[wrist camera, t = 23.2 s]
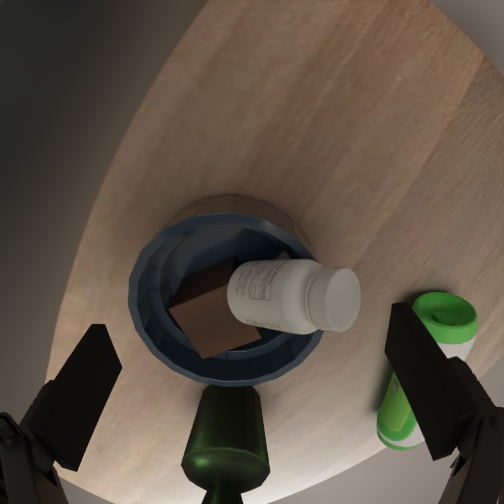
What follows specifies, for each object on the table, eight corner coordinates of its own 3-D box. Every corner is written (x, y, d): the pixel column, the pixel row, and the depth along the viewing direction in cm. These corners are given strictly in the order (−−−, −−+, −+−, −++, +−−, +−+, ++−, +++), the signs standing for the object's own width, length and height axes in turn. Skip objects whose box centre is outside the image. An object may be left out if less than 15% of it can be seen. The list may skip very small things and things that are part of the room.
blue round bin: (138, 204, 25) (107, 225, 19) (311, 187, 24) (329, 204, 18) (170, 345, 30) (155, 387, 24) (314, 336, 29) (325, 379, 23)
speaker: (396, 291, 27) (432, 336, 20) (456, 285, 27) (496, 324, 20) (366, 413, 34) (381, 460, 27) (416, 404, 33) (436, 446, 26)
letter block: (181, 278, 26) (167, 309, 22) (234, 255, 25) (230, 282, 21) (210, 324, 28) (202, 359, 23) (260, 304, 27) (262, 338, 22)
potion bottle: (193, 369, 31) (159, 530, 14) (272, 376, 31) (281, 540, 14) (195, 417, 34) (173, 552, 17) (263, 422, 34) (266, 559, 17)
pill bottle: (280, 305, 24) (371, 314, 18) (237, 335, 21) (331, 357, 15) (263, 251, 23) (357, 245, 17) (216, 276, 20) (311, 279, 14)
